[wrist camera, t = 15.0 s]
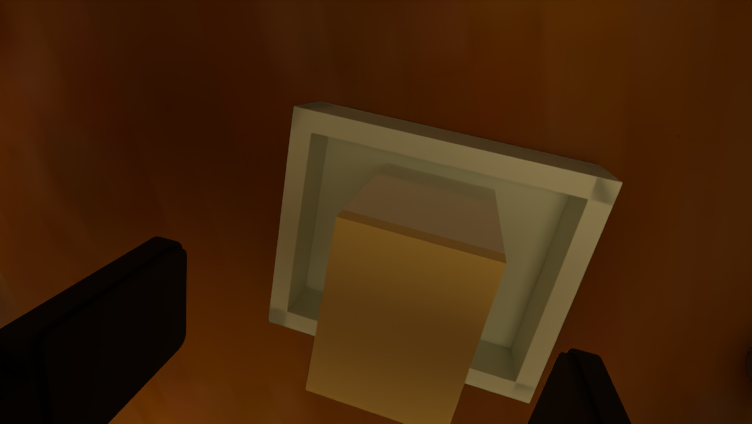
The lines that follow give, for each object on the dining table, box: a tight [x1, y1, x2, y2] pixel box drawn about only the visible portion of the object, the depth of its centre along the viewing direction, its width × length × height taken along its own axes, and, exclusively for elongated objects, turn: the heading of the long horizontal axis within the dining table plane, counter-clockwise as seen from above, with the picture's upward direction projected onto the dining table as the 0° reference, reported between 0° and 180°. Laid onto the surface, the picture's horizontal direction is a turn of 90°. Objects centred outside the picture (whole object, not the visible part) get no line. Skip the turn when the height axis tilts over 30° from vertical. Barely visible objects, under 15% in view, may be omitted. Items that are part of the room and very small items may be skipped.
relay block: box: [306, 163, 507, 424], centre depth 15 cm, size 4×6×7 cm
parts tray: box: [268, 101, 622, 403], centre depth 18 cm, size 12×10×3 cm
